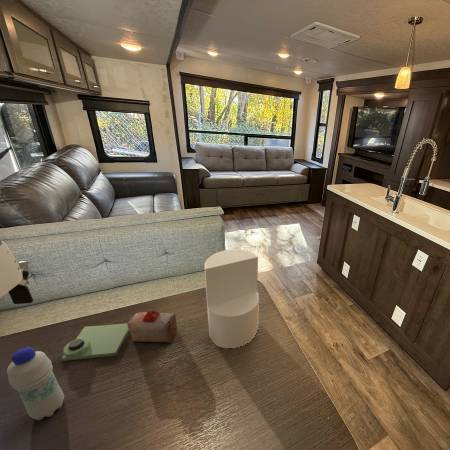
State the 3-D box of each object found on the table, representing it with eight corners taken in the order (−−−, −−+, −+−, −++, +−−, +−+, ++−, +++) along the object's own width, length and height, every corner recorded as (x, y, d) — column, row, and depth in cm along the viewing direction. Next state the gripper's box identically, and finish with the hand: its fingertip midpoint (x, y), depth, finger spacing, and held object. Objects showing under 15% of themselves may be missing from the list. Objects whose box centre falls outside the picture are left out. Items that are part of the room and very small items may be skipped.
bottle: (64, 389, 66) (40, 334, 58) (70, 407, 62) (45, 351, 54) (27, 409, 61) (-4, 351, 53) (32, 431, 57) (-2, 372, 49)
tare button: (67, 351, 73) (66, 347, 72) (74, 342, 75) (72, 339, 75) (79, 350, 73) (78, 346, 73) (85, 341, 76) (84, 338, 76)
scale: (61, 362, 72) (58, 355, 71) (85, 329, 83) (83, 322, 82) (115, 356, 75) (113, 349, 74) (132, 325, 86) (130, 319, 85)
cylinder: (203, 321, 91) (198, 255, 80) (247, 306, 101) (248, 245, 90) (217, 357, 78) (213, 285, 67) (266, 336, 88) (269, 269, 77)
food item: (127, 344, 79) (121, 321, 76) (141, 325, 87) (136, 303, 83) (170, 346, 80) (167, 323, 77) (180, 327, 88) (177, 305, 84)
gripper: (-13, 224, 50) (17, 292, 57) (-128, 273, 35) (-68, 359, 41) (32, 224, 52) (56, 290, 58) (-58, 271, 36) (-11, 354, 43)
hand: (5, 319), depth 50 cm, fingers open, 9 cm apart
